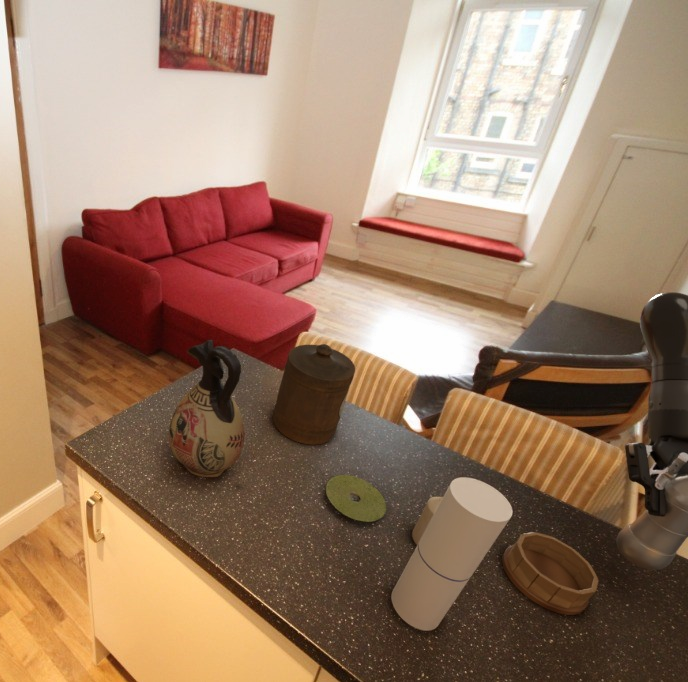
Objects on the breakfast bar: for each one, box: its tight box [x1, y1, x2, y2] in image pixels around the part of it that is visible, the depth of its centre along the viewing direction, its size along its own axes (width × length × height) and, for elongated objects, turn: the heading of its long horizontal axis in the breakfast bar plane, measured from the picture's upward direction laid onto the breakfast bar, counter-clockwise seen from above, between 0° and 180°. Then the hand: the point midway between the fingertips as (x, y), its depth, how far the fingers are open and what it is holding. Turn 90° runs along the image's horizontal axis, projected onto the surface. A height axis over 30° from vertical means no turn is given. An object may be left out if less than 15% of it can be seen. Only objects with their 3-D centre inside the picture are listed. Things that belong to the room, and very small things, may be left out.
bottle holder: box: [501, 531, 600, 616], centre depth 75 cm, size 12×12×5 cm
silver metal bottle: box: [615, 474, 688, 571], centre depth 69 cm, size 6×7×20 cm
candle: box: [411, 496, 444, 546], centre depth 79 cm, size 6×6×10 cm
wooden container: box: [272, 343, 356, 445], centre depth 102 cm, size 15×15×22 cm
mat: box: [325, 474, 387, 523], centre depth 87 cm, size 11×11×2 cm
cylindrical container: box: [390, 476, 513, 632], centre depth 64 cm, size 7×7×25 cm
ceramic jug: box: [168, 339, 246, 478], centre depth 86 cm, size 17×15×30 cm
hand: (683, 522), depth 67 cm, fingers closed on silver metal bottle, 6 cm apart
